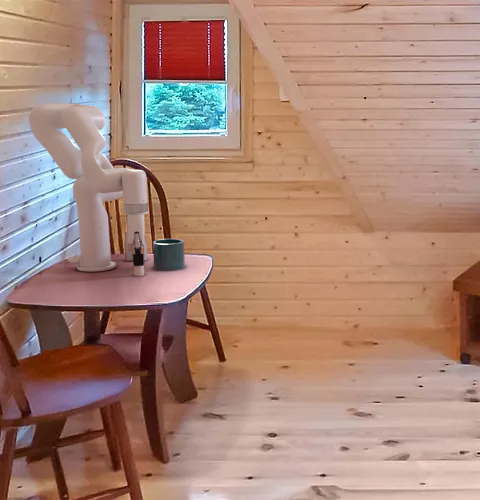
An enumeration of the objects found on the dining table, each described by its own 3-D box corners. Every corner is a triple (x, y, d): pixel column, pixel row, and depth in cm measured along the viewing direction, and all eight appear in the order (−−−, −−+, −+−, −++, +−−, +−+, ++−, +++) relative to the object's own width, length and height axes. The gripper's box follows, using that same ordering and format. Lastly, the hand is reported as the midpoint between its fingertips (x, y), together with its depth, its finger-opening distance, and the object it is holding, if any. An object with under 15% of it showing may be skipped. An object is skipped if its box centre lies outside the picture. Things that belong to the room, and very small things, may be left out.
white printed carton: (128, 258, 274) (126, 231, 272) (147, 259, 274) (145, 231, 272) (125, 261, 270) (123, 233, 268) (144, 261, 270) (143, 233, 268)
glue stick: (133, 276, 248) (132, 249, 246) (133, 274, 251) (132, 247, 249) (144, 275, 248) (143, 248, 247) (144, 273, 252) (143, 246, 250)
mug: (185, 269, 257) (184, 243, 255) (154, 271, 255) (153, 244, 253) (183, 261, 270) (182, 236, 268) (153, 262, 268) (152, 237, 266)
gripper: (124, 205, 252) (127, 260, 256) (122, 212, 237) (126, 270, 240) (147, 204, 254) (150, 258, 258) (148, 212, 238) (150, 269, 242)
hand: (138, 264), depth 249 cm, fingers closed on glue stick, 3 cm apart
